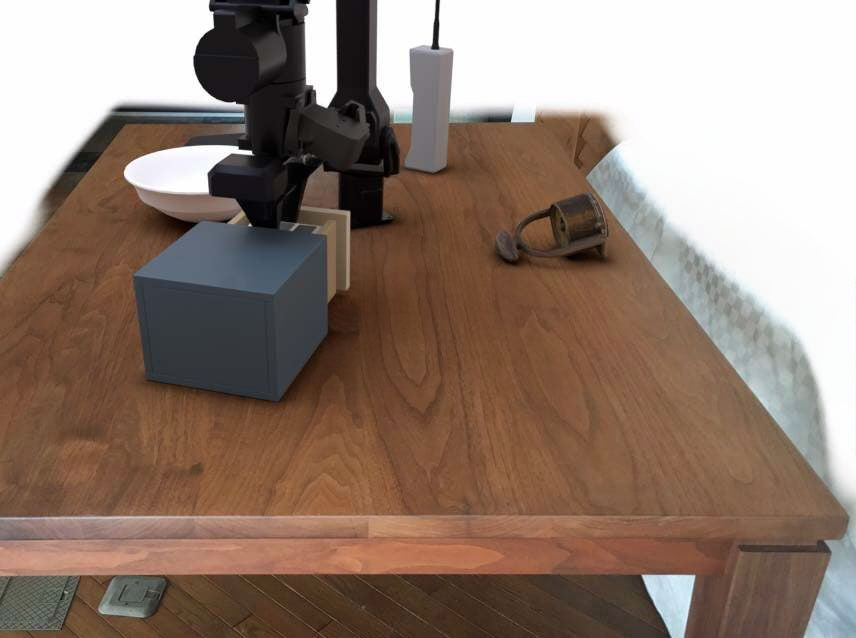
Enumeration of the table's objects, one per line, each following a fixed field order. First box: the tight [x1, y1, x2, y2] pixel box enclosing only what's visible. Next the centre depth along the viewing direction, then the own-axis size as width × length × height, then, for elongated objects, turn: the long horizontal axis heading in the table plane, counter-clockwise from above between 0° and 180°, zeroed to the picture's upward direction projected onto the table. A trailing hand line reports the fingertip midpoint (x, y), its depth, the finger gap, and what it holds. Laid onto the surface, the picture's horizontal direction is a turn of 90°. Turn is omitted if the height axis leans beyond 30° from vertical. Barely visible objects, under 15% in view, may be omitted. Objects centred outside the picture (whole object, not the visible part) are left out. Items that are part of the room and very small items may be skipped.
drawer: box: [227, 205, 351, 303], centre depth 91 cm, size 16×11×8 cm
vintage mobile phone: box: [404, 0, 455, 175], centre depth 127 cm, size 4×5×25 cm
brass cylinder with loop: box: [494, 191, 610, 263], centre depth 103 cm, size 7×13×10 cm
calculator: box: [248, 222, 323, 234], centre depth 89 cm, size 7×5×2 cm, turn 72°
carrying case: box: [183, 132, 246, 147], centre depth 136 cm, size 11×3×15 cm
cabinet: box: [132, 221, 329, 403], centre depth 81 cm, size 14×13×10 cm
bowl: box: [123, 145, 253, 224], centre depth 115 cm, size 20×20×6 cm
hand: (280, 241), depth 89 cm, fingers closed on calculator, 5 cm apart
